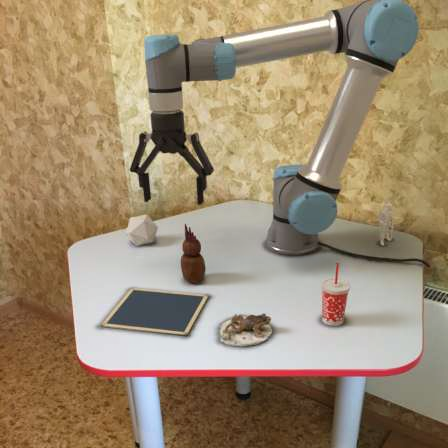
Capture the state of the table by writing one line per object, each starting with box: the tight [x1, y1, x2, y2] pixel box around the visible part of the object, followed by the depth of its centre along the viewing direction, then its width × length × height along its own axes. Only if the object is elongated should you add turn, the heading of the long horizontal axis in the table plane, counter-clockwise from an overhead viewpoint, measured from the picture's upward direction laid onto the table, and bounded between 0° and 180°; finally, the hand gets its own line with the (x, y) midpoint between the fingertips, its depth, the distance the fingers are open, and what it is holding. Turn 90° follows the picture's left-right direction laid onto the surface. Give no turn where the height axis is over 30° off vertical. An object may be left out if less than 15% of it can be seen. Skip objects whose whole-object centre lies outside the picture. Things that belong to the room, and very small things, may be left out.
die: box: [125, 214, 159, 247], centre depth 158 cm, size 8×9×10 cm
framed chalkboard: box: [100, 287, 210, 337], centre depth 124 cm, size 20×18×1 cm
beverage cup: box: [320, 262, 351, 327], centre depth 115 cm, size 6×6×14 cm
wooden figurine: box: [180, 223, 207, 284], centre depth 133 cm, size 7×6×15 cm
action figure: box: [376, 202, 398, 247], centre depth 152 cm, size 6×4×12 cm, turn 123°
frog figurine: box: [219, 313, 273, 348], centre depth 115 cm, size 12×12×4 cm
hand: (174, 201), depth 130 cm, fingers open, 13 cm apart
